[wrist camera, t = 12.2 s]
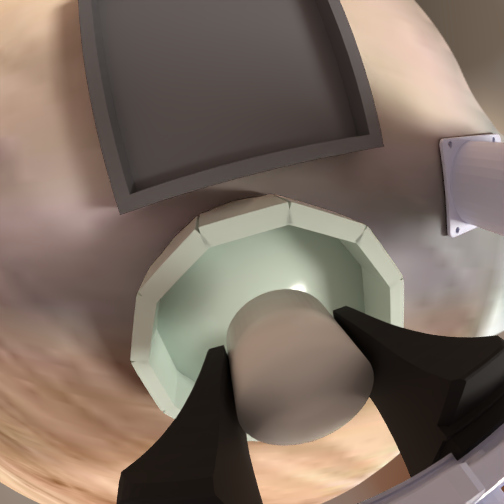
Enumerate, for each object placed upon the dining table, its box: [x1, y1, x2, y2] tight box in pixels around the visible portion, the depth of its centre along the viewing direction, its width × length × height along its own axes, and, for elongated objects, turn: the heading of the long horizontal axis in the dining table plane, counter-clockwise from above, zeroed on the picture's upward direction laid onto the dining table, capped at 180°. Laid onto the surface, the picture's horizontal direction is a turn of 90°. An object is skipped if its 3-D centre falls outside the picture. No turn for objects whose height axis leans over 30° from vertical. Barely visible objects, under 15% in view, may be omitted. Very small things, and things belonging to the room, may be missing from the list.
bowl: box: [130, 194, 404, 441], centre depth 17 cm, size 16×16×4 cm
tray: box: [78, 0, 384, 215], centre depth 13 cm, size 15×16×2 cm
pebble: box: [226, 289, 374, 445], centre depth 10 cm, size 4×4×4 cm
